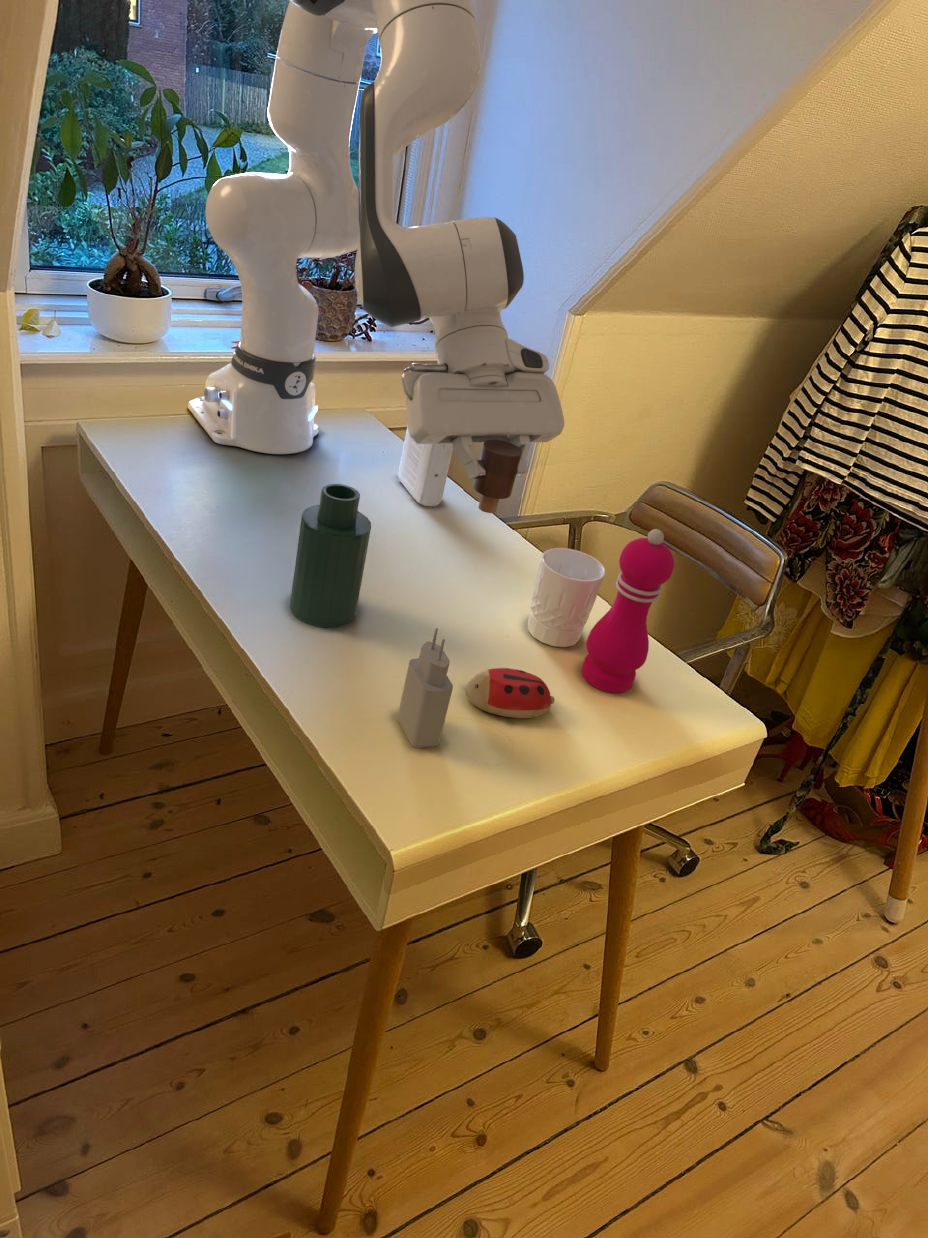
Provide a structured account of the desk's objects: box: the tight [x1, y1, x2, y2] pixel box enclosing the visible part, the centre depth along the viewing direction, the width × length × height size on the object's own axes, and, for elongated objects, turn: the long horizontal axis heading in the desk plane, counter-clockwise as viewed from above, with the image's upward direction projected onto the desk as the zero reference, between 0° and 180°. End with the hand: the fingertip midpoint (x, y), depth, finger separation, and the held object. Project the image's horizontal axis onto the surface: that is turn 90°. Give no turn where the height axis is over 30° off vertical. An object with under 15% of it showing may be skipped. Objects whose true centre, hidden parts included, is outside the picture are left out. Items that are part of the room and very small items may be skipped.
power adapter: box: [397, 627, 454, 749], centre depth 97 cm, size 3×5×12 cm, turn 23°
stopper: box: [472, 440, 522, 514], centre depth 114 cm, size 5×5×8 cm
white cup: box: [527, 547, 607, 648], centre depth 119 cm, size 8×8×10 cm
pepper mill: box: [581, 528, 675, 694], centre depth 110 cm, size 7×7×20 cm
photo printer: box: [397, 425, 454, 507], centre depth 146 cm, size 10×4×12 cm, turn 25°
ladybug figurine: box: [464, 667, 555, 719], centre depth 106 cm, size 7×10×4 cm
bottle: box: [289, 483, 372, 629], centre depth 111 cm, size 8×8×16 cm
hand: (499, 476), depth 114 cm, fingers closed on stopper, 4 cm apart
